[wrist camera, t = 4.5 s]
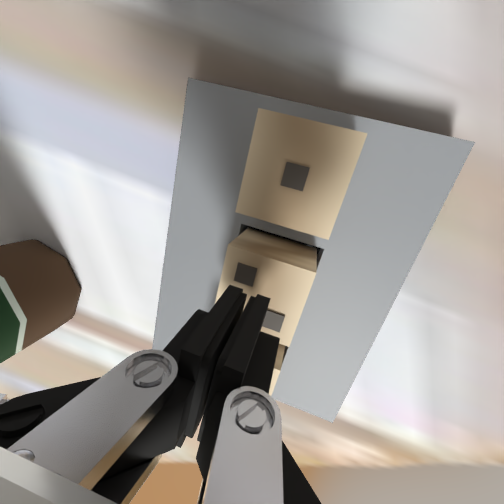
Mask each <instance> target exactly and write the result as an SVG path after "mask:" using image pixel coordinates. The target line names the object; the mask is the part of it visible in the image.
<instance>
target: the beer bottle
mask: <svg viewBox="0 0 504 504" xmlns="http://www.w3.org/2000/svg"><path fill="white" fill-rule="evenodd" d="M80 292H81V288H80V286H79V283H78V281H77V279H76V277H75V275H74V273H73V271H72V269H71V267H70V265H69V263H68V261H67V259H66V258H65V257H64V256H62V255H60V254H59V253H57V252H56V251H54V250H52V249H51V248H49V247H47V246H46V245H44V244H43V243H41V242H39V241H38V240H27V241H21V242H16V243H11V244H6V245H1V246H0V363H2V362H3V361H5V360H6V359H8V358H10V357H11V356H13V355H15V354H16V353H18V352H20V351H21V350H23V349H25V348H26V347H28V346H29V345H31V344H33V343H34V342H36V341H38V340H39V339H41V338H43V337H44V336H46V335H48V334H49V333H51V332H52V331H54V330H55V329H57V328H58V327H60V326H61V325H63V324H64V323H66V322H67V321H69V320H70V319H71V318H73V316H74V314H75V311H76V307H77V304H78V300H79V296H80Z"/></svg>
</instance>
